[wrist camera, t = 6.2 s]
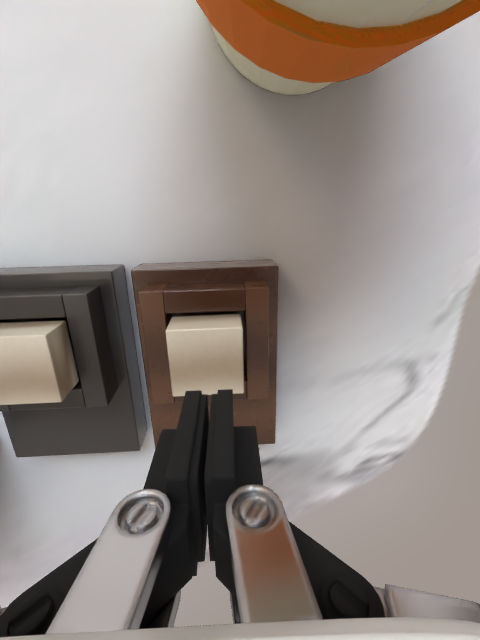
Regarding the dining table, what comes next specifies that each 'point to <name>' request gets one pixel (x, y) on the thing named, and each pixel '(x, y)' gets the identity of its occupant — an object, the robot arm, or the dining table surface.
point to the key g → (205, 353)
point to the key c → (36, 362)
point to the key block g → (211, 299)
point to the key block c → (79, 361)
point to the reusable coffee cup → (324, 36)
